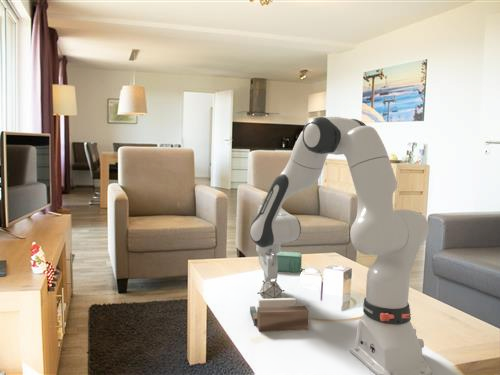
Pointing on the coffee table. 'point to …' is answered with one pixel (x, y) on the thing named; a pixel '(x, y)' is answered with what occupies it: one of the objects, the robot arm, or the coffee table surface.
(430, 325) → the coffee table surface
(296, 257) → the box
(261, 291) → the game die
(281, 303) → the pad
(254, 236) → the robot arm
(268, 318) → the brown piece
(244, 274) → the coffee table surface
